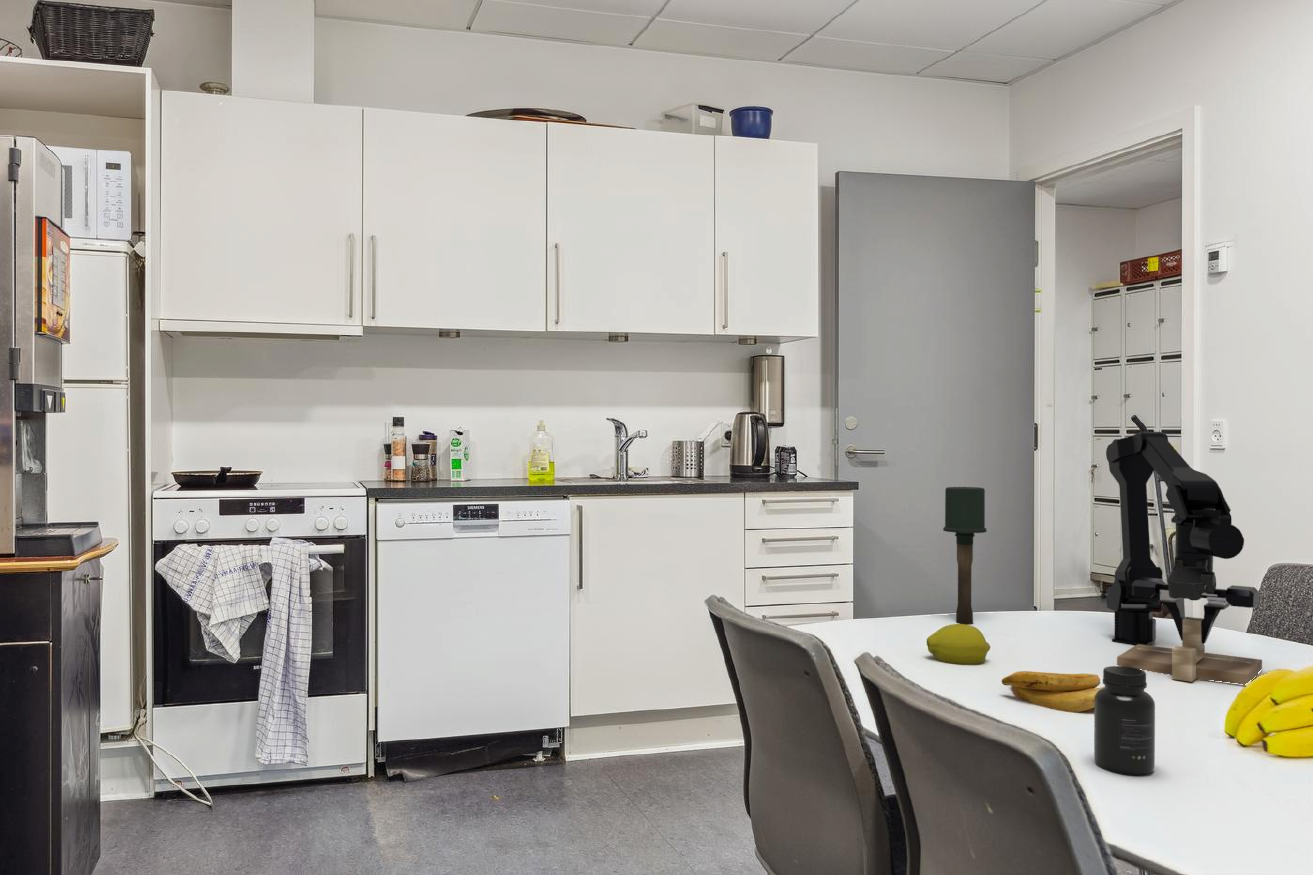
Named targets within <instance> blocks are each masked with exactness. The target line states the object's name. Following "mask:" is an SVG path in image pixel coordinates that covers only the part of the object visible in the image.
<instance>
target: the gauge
mask: <svg viewBox="0 0 1313 875" xmlns="http://www.w3.org/2000/svg"><path fill="white" fill-rule="evenodd" d="M1203 620H1204V618H1201V617H1193V616H1185V618H1184V619H1183V641H1182V645H1181V646H1180V645H1176V646H1174V647H1172V648H1173V649H1172V675H1171V679H1172V680H1176V681H1177V680H1178V681H1185V682H1189V683H1190V682H1193V681H1195V680H1196V663H1197V662H1198V661H1199V660H1201V659H1202V658H1203V657H1204V656H1205V653H1206V652H1205V651H1206V647H1205V646H1206V645H1205V644H1203V643H1202V628H1203Z"/></svg>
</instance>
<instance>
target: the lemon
mask: <svg viewBox="0 0 1313 875" xmlns="http://www.w3.org/2000/svg"><path fill="white" fill-rule="evenodd" d="M926 646H927V650H928V652H929V653H930V654H931V655H933V656H934V658H935V659H936V660H938V661H939V662H943V663H945V664H946V663H947V664H952V665H963V666H964V665H965V666H971V665H972V666H974V665H982V664H983V663H984V661H985V660H986V657H987V654H988V652H989V651H990V649H991V645H990V643H989V642H987V640H986V638H985V636H984V634H983V633H982V632H981V630H980V629H979V628H977V627H975V626H973V625H966V624H959V623H953V624H949V625H945V626H942V627H941V628H939V629H938V630H937V631H935V632H934V633H932V634H931V635H929V636H928V637H927V638H926Z"/></svg>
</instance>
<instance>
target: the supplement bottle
mask: <svg viewBox="0 0 1313 875" xmlns="http://www.w3.org/2000/svg"><path fill="white" fill-rule="evenodd" d="M1102 670H1103V672H1102V673H1103V674H1102V684H1103V685H1104V686H1105V687H1104V686H1103V687H1104V688H1102V689H1100V690H1099V691H1098V692H1097V693H1096V695H1095V700H1094V708H1093V711H1094V712H1093V713H1094V721H1093V723H1094V725H1093V726H1094V727H1093V728H1094V729H1093V732H1094V734H1093V736H1094V738H1093V741H1094V742H1093V744H1094V745H1093V746H1094V747H1093V748H1094V749H1093V751H1094V752H1093V753H1094V754H1093V757H1094V762H1095V763H1096V765H1097V766H1098V767H1099V768H1101V769H1103V770H1106V771H1108V772H1111V773H1115V774H1119V775H1120V774H1121V775H1126V776H1127V775H1128V776H1144V775H1147V774H1150V773H1151V772H1153V771H1154V769H1155V766H1156V765H1155V763H1156V762H1155V759H1156V755H1155V754H1156V753H1155V752H1156V748H1155V747H1156V740H1155V739H1156V711H1155V710H1156V703H1155V700H1154V697H1152V696H1151V695H1150V694H1149V693H1148V692H1147V691H1145V689H1147V686H1148V683H1147V673H1146V672H1145V670H1140V669H1137V668H1132V667H1125V666H1117V665H1112V666H1105V667H1104V668H1103V669H1102Z"/></svg>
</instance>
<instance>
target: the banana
mask: <svg viewBox="0 0 1313 875" xmlns="http://www.w3.org/2000/svg"><path fill="white" fill-rule="evenodd" d="M1001 684H1002V685H1003V686H1011V689H1012V691H1013V694H1014V695H1015V696H1016V695H1017V696H1016V697H1018V698H1019V699H1021V700H1023V701H1024V702H1027V703H1029V704H1031V705H1032V704H1033V705H1036V706H1040V707H1044V708H1047V709H1050V710H1056V711H1061V712H1069V713H1079V712H1080V713H1081V712H1086V711H1088V710H1092V709H1094V700H1095V695H1096V693H1097V692H1098V691H1099V690H1100V689H1102V688H1104V687H1105V685H1104V686H1101V687H1098V686H1100V684H1101V679H1100V676H1099V675H1098V674H1095V673H1094V674H1092V673H1055V672H1042V671H1028V670H1022V671H1020V670H1019V671H1015V672H1013V673H1011V674H1009V675H1007V676H1005V677H1003V678H1001Z"/></svg>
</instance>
